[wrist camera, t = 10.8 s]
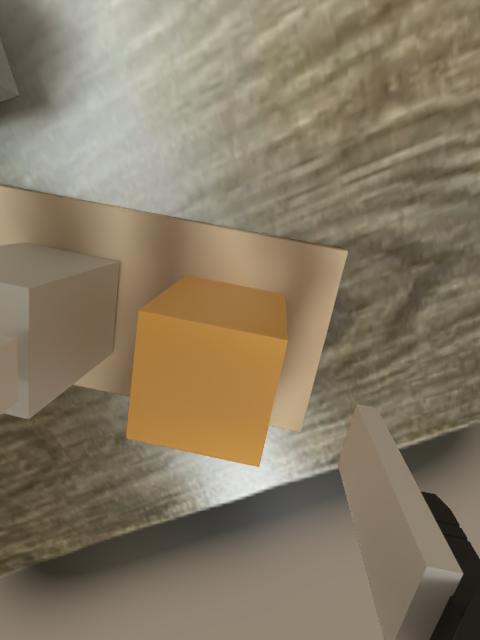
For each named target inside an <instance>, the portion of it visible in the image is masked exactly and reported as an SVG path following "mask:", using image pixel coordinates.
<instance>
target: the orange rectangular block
mask: <svg viewBox="0 0 480 640" xmlns="http://www.w3.org/2000/svg"><path fill="white" fill-rule="evenodd" d="M287 343H288V331H287V316H286V301H285V294H281V293H276V292H271V291H265V290H260V289H255V288H250V287H245V286H240V285H235V284H229V283H224V282H219V281H214V280H209V279H204V278H199V277H193V276H188V275H185V276H184V277H183V278H181V279H180V280H179V281H177V282H176V283H175V284H173V285H172V286H171V287H169V288H168V289H167V290H165V291H164V292H163V293H161V294H160V295H159V296H157V297H156V298H155V299H153V300H152V301H151V302H149V303H148V304H147V305H145V306H144V307H143V308H141V309H140V310H138V321H137V331H136V341H135V352H134V362H133V372H132V383H131V393H130V403H129V414H128V424H127V434H126V439H131V440H136V441H140V442H145V443H150V444H154V445H159V446H164V447H168V448H173V449H178V450H182V451H187V452H192V453H196V454H201V455H205V456H210V457H215V458H219V459H224V460H229V461H233V462H238V463H243V464H247V465H252V466H257V467H259V465H260V461H261V456H262V452H263V448H264V443H265V439H266V435H267V430H268V426H269V421H270V417H271V413H272V408H273V404H274V400H275V395H276V391H277V387H278V382H279V378H280V374H281V369H282V365H283V360H284V356H285V352H286V347H287Z"/></svg>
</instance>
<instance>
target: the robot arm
mask: <svg viewBox="0 0 480 640" xmlns="http://www.w3.org/2000/svg"><path fill="white" fill-rule="evenodd" d="M16 402H18V358H17V338H12V337H7V336H2V335H0V415H1V414H2V413H4V412H5V411H6V410H8V409H9V408H10V407H11V406H13V405H14V404H15V403H16ZM338 466H339V470H340V473H341V477H342V481H343V484H344V489H345V493H346V496H347V500H348V504H349V508H350V512H351V515H352V519H353V523H354V527H355V531H356V534H357V538H358V542H359V546H360V549H361V554H362V557H363V561H364V565H365V569H366V572H367V576H368V580H369V584H370V588H371V592H372V595H373V599H374V603H375V607H376V611H377V614H378V618H379V622H380V626H381V630H382V633H383V637H384V640H480V559H479V557H478V555H477V554H476V552H475V551H474V549H473V547H472V545H471V543H470V542H469V541H467V537H466V535H465V533H464V532H463V530H462V528H460V527H459V523H458V521H457V520H456V518H455V516H454V515H453V513H452V511H451V510H450V509H449V508H448V506H446V504H444V502H442V500H441V499H440V498H438V496H436V495H435V494H431V493H426V492H421V491H420V490H419V488H418V486H417V484H416V482H415V480H414V478H413V476H412V474H411V473H410V471H409V469H408V467H407V465H406V463H405V462H404V459H403V457H402V455H401V453H400V452H399V450H398V448H397V446H396V444H395V442H394V440H393V438H392V436H391V434H390V432H389V431H388V429H387V427H386V425H385V423H384V421H383V419H382V417H381V415H380V413H379V411H378V409H377V408H374V407H369V406H364V405H359V404H356V408H355V411H354V414H353V417H352V421H351V424H350V427H349V430H348V434H347V437H346V440H345V443H344V447H343V450H342V453H341V456H340V460H339V463H338Z"/></svg>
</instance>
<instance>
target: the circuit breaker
mask: <svg viewBox="0 0 480 640" xmlns="http://www.w3.org/2000/svg"><path fill="white" fill-rule="evenodd" d="M17 96H19V92H18V89H17V86H16V83H15V80H14V77H13V74H12V71H11V68H10V65H9V62H8V59H7V56H6V53H5V50H4V47H3V44H2V41H1V38H0V102H1V101H4V100H8V99H11V98H14V97H17Z"/></svg>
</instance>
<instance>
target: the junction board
mask: <svg viewBox="0 0 480 640" xmlns="http://www.w3.org/2000/svg"><path fill="white" fill-rule="evenodd" d="M25 242H27V243H32V244H37V245H41V246H46V247H51V248H56V249H61V250H66V251H71V252H76V253H81V254H85V255H90V256H95V257H100V258H105V259H110V260H115V261H120V263H119V275H118V288H117V301H116V314H115V327H114V340H113V353H112V354H111V355H110V356H109V357H107V358H106V359H105V360H103V361H102V362H101V363H100V364H98V365H97V366H96V367H95V368H93V369H92V370H91V371H89V372H88V373H87V374H86V375H84V376H83V377H82V378H81V379H79V380H78V381H77V382H75V383H74V384H73V385H77V386H82V387H87V388H91V389H96V390H101V391H106V392H110V393H115V394H120V395H125V396H129V397H130V393H131V383H132V372H133V362H134V352H135V341H136V331H137V321H138V310H140V309H141V308H143V307H144V306H145V305H147V304H148V303H149V302H151V301H152V300H153V299H155V298H156V297H157V296H159V295H160V294H161V293H163V292H164V291H165V290H167V289H168V288H169V287H171V286H172V285H173V284H175V283H176V282H177V281H179V280H180V279H181V278H183V277H184V276H185V275H188V276H193V277H199V278H204V279H209V280H214V281H219V282H224V283H229V284H235V285H240V286H245V287H250V288H255V289H260V290H265V291H271V292H276V293H281V294H285V301H286V316H287V331H288V343H287V347H286V352H285V356H284V360H283V365H282V369H281V374H280V378H279V382H278V387H277V391H276V395H275V400H274V404H273V408H272V413H271V417H270V421H269V426H272V427H277V428H282V429H287V430H292V431H296V432H301V430H302V426H303V422H304V418H305V414H306V411H307V407H308V403H309V399H310V395H311V391H312V388H313V384H314V380H315V376H316V372H317V368H318V365H319V361H320V357H321V353H322V349H323V345H324V342H325V338H326V334H327V330H328V326H329V323H330V319H331V315H332V311H333V307H334V303H335V300H336V296H337V292H338V288H339V284H340V280H341V277H342V273H343V269H344V265H345V261H346V257H347V254H348V251H346V250H345V249H341V248H335V247H330V246H325V245H319V244H314V243H309V242H303V241H298V240H293V239H287V238H282V237H277V236H271V235H266V234H261V233H255V232H250V231H245V230H239V229H234V228H229V227H223V226H218V225H213V224H208V223H202V222H197V221H192V220H186V219H181V218H176V217H170V216H165V215H160V214H154V213H149V212H144V211H138V210H133V209H128V208H122V207H117V206H112V205H106V204H101V203H96V202H90V201H85V200H80V199H74V198H69V197H64V196H58V195H53V194H48V193H42V192H37V191H32V190H27V189H21V188H16V187H11V186H5V185H0V246H1V245H9V244H17V243H25Z"/></svg>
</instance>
